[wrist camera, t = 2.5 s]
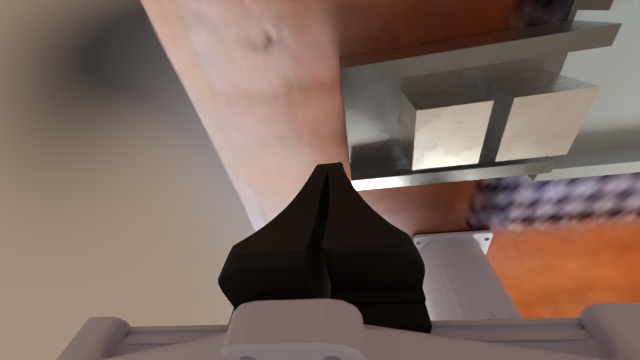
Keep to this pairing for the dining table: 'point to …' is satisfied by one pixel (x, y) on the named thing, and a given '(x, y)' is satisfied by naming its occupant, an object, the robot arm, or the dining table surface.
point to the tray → (605, 96)
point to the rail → (443, 68)
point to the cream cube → (443, 125)
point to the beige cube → (534, 113)
